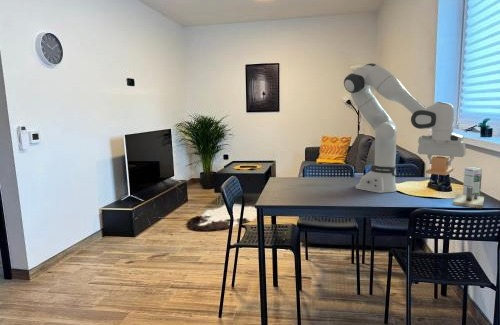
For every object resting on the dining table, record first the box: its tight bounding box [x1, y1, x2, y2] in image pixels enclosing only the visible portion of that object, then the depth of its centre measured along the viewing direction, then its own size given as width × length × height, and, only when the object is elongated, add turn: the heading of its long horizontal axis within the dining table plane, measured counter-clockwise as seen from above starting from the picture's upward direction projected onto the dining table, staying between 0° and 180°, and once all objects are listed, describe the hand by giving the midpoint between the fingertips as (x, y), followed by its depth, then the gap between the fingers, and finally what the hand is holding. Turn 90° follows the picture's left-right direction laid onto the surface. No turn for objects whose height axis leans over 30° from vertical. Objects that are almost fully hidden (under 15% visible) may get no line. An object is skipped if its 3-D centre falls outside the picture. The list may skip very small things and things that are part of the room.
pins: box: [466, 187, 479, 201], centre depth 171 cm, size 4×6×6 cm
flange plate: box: [425, 155, 454, 176], centre depth 168 cm, size 14×9×7 cm, turn 138°
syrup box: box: [462, 167, 483, 196], centre depth 184 cm, size 6×6×14 cm
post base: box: [452, 193, 485, 209], centre depth 172 cm, size 12×18×2 cm, turn 144°
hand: (439, 164), depth 168 cm, fingers closed on flange plate, 6 cm apart
